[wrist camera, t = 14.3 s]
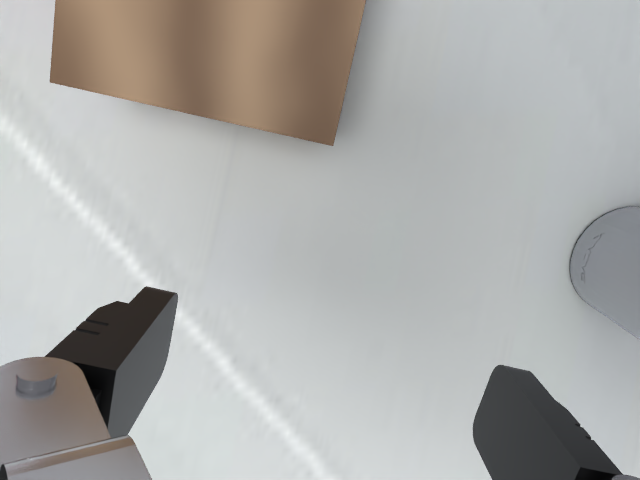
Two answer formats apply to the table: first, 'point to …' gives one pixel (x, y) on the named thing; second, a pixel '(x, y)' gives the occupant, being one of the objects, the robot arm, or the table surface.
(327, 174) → the table surface
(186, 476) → the table surface
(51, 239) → the table surface
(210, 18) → the shelf
